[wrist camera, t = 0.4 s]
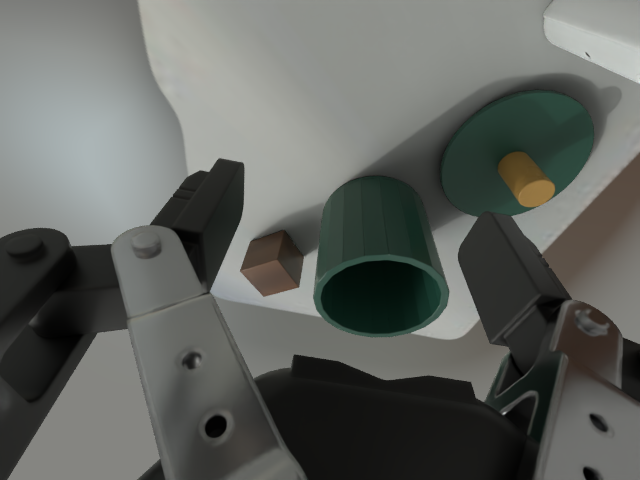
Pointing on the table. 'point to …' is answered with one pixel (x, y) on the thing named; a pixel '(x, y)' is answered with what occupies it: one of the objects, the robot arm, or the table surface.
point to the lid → (516, 153)
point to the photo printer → (598, 32)
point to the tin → (378, 260)
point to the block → (273, 264)
